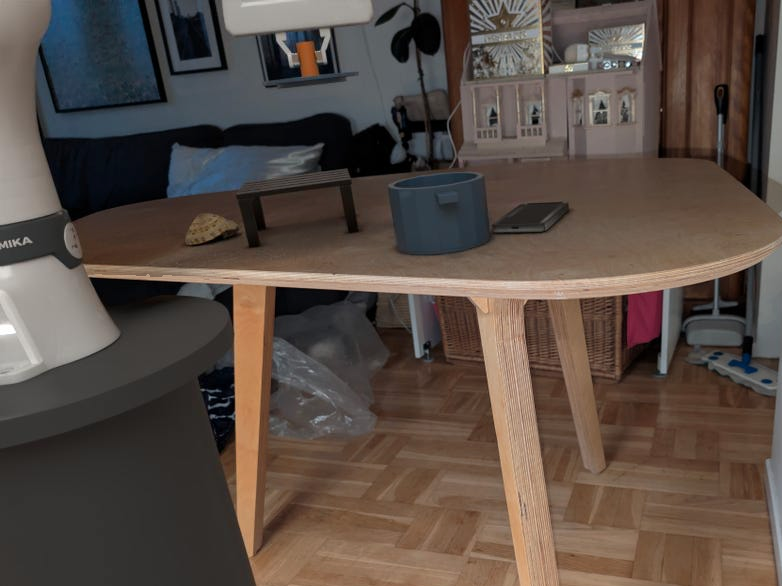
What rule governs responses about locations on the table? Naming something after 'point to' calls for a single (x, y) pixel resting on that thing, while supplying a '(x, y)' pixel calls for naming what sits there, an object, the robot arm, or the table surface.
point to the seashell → (209, 228)
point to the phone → (530, 217)
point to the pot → (440, 212)
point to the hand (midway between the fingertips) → (309, 66)
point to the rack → (256, 189)
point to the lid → (309, 71)
